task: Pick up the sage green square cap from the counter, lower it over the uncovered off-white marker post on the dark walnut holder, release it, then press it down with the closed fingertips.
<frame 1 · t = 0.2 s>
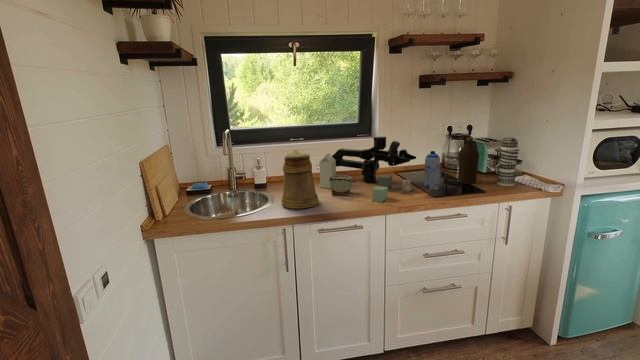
hand: (413, 159, 181), 17 cm above the counter, tool horizontal, fingers open, 9 cm apart
decorative candle: (505, 184, 189), on the counter
olive oil: (466, 182, 196), on the counter
aerosol can: (431, 188, 188), on the counter
sage cap: (380, 201, 169), on the counter
milk carton: (328, 186, 199), on the counter
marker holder: (395, 192, 182), on the counter
tankard: (299, 202, 173), on the counter
food container: (342, 195, 182), on the counter
gray block: (384, 188, 185), point 1 cm above the counter, touching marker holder
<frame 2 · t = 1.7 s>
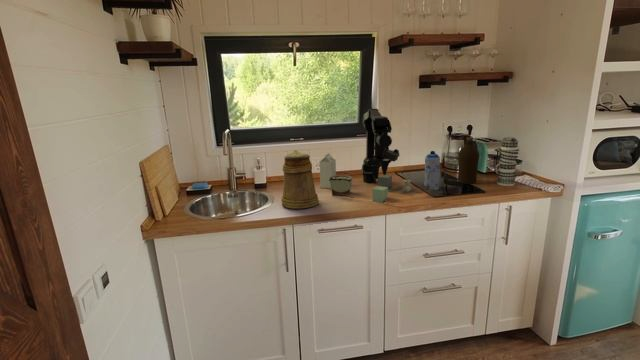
hand: (380, 176, 166), 12 cm above the counter, tool pointing down, fingers open, 9 cm apart
nothing on the counter moved.
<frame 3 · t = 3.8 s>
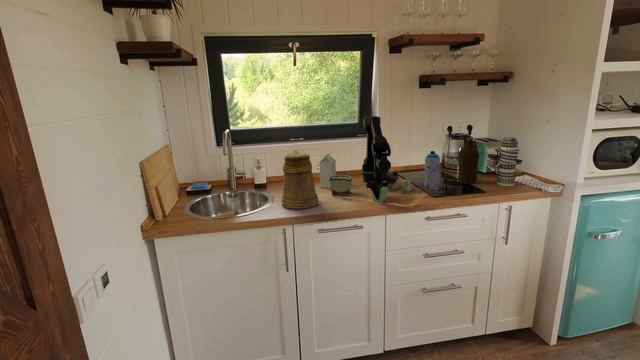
hand: (380, 198, 169), 2 cm above the counter, tool pointing down, fingers closed on sage cap, 6 cm apart
sage cap: (380, 201, 169), on the counter, touching gripper
everything else where it was.
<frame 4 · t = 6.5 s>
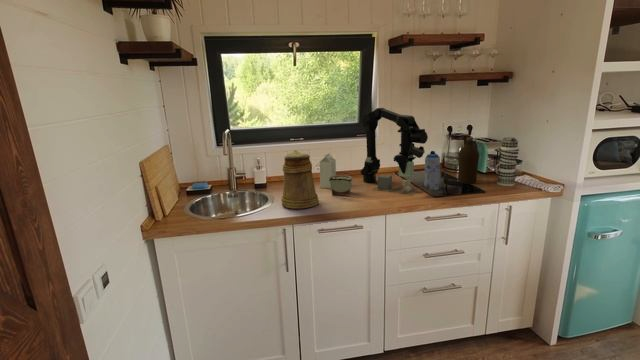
hand: (406, 172, 176), 11 cm above the counter, tool pointing down, fingers closed on sage cap, 6 cm apart
sage cap: (406, 175, 176), point 10 cm above the counter, touching gripper
everything else where it was.
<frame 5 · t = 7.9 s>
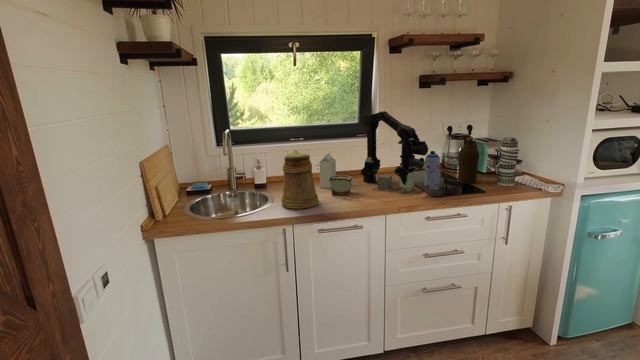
hand: (406, 183, 178), 6 cm above the counter, tool pointing down, fingers closed on sage cap, 6 cm apart
sage cap: (406, 186, 178), point 4 cm above the counter, touching gripper
everything else where it was.
when the fingers open (4 cm above the counter, at t = 9.2 s): sage cap stays where it is, resting on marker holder.
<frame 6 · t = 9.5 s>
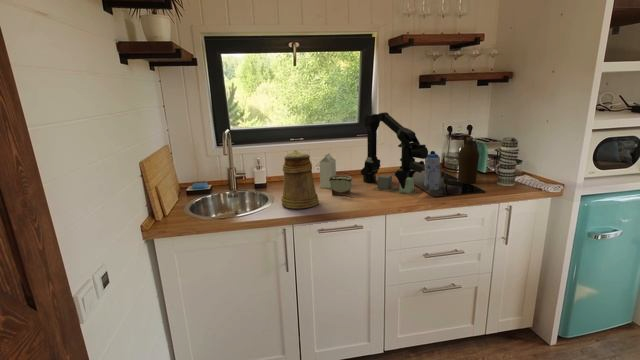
hand: (406, 186, 178), 4 cm above the counter, tool pointing down, fingers open, 9 cm apart
sage cap: (406, 190, 179), point 1 cm above the counter, touching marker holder
everything else where it was.
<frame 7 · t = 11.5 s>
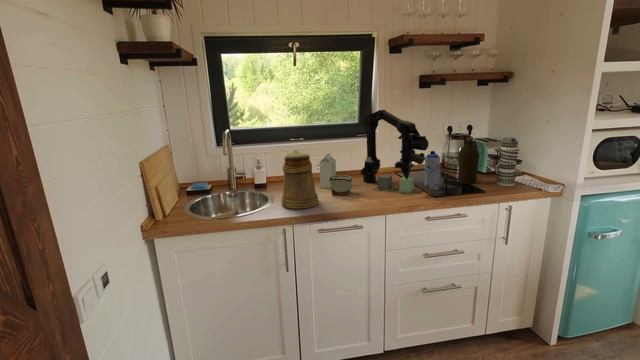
hand: (406, 178, 177), 8 cm above the counter, tool pointing down, fingers closed, pressing on sage cap
sage cap: (406, 190, 179), point 1 cm above the counter, touching gripper, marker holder
everything else where it was.
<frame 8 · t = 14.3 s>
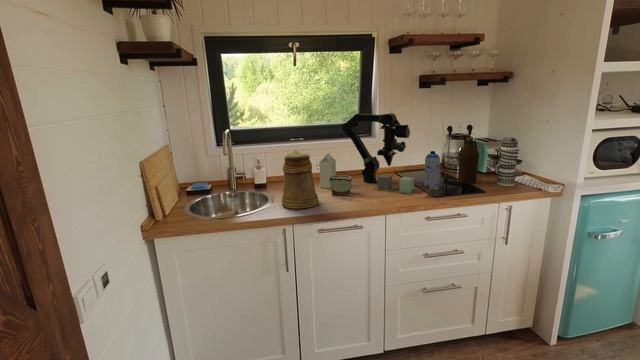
hand: (389, 165, 190), 12 cm above the counter, tool pointing down, fingers closed
sage cap: (406, 190, 179), point 1 cm above the counter, touching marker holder
everything else where it was.
at the end: sage cap 0.0 cm from the target spot on the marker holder, point 1.5 cm above the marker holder's base; sage cap tilted 0°; the gripper is holding nothing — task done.
